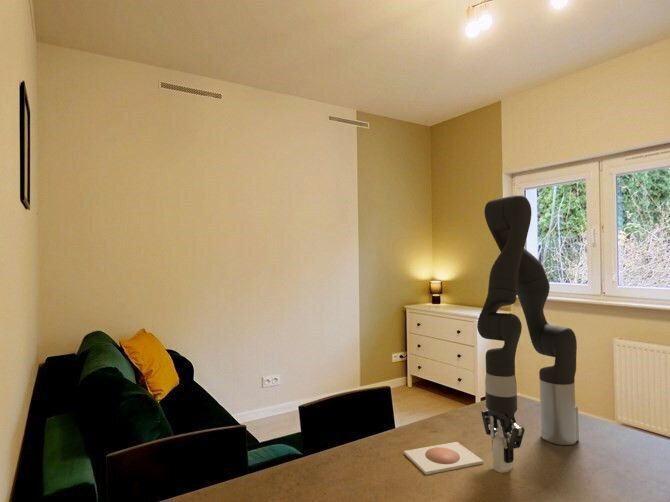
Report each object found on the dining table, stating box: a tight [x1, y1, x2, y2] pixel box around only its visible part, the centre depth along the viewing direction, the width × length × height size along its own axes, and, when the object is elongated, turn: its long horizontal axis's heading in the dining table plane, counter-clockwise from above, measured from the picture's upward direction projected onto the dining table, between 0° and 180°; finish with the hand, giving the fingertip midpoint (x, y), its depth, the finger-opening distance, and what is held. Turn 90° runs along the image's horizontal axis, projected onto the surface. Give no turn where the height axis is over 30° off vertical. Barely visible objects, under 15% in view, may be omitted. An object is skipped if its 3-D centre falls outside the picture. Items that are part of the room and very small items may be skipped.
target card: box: [403, 441, 484, 476], centre depth 112 cm, size 17×12×1 cm
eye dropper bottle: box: [492, 427, 514, 474], centre depth 106 cm, size 4×6×12 cm
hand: (502, 457), depth 106 cm, fingers closed on eye dropper bottle, 3 cm apart
